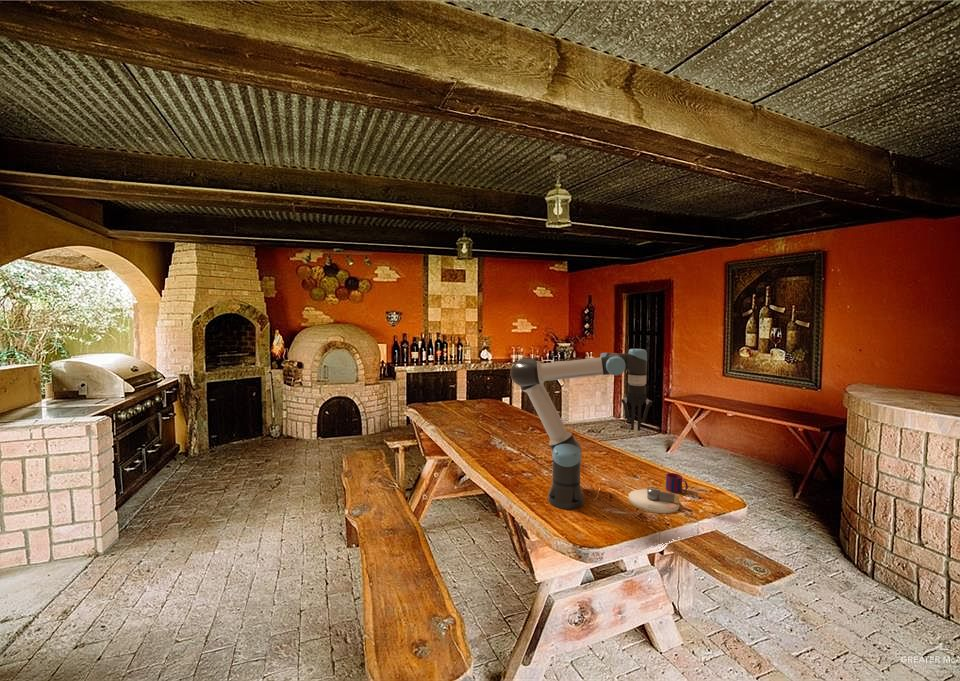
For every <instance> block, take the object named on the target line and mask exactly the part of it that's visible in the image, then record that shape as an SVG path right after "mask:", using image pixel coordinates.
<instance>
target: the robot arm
mask: <svg viewBox="0 0 960 681" xmlns="http://www.w3.org/2000/svg"><path fill="white" fill-rule="evenodd" d="M647 366H648V352H647V350H646V349H644V348H643V349H642V348H630V349H629V350H628V352H627V353H626V352H625V353H617V352H602V353H600V356H599V357H592V358H583V359H574V360H573V359H571V360H564V361H555V362H546V363H544V362H543V363H541V362H539V361H536V360H535V359H534V358H531V357H523V358H520V359H518V360H517V361H516V362H514V363H513V365H512V366H511V367H510V371H509V372H510V373H509V375H510V379H511V380H512V382H513V383H514V384H515V385H517V386H519V388H520V389H521V391H522V392H524V393H526V394H527V395H528V398H529V400H530V402H531V404H532V407H533V408H534V410H535V412H536V413H537V416H538V418H539V419H540V421H541V424H542V425H543V428H544V430H545V432H546V433H547V435H548V437H549V442H548V446H549V447H550V449H551V451H552V455H551V456H552V483H551V486H550V489H549V491H548V494H547V501H548V503H549V502H550V503H551V505H552V506H554V507H555V508H558V509H559V508H560V509H563V510H564V509H565V510H574V509H579V508H581V507H583V506H584V504H585V498H584V497H585V496H584V493H583V490H582V487H581V460H582V447H581V445H580V443H579V442H578V441H577V439H575V437H574V434H573V433H572V432H570V431H569V430H568V429H566V428H567V427H566V426H565V424H564V422H563V420H562V419H561V416H560V414H559V413H558V411H557V409H556V407H555V405H554V403H553V401H552V398H551V397H550V395H549V393H548V391H547V389H546V387H545V385H544V384H545V382H547V381H558V380H567V379H576V378H577V379H578V378H579V379H580V378H588V377H589V378H590V377H597V376H609V375H611V376H619V375H622V374H623V373H624V372H625V371H627V373H628V374H627V383H628V384H627V394H626V397H624V398H621V400H620V401H621V404H622V405H623V409H624V414H625V418H626V421H627V422H630V430H631V431H633V439H638V434H639V433H638V432H640V431H641V424H644V423H645V422H646V419H647V417H648V414H649V410H650V407H651V405H652V404H653V401H652V400H650V399H648V397H647V385H646V384H647V371H648V370H647ZM628 403H629V404H630V405H631V414H630V413H629V408H628ZM644 403H645V404H646V405H645V409H644V412H643V416H642V406H643V405H644ZM636 406H637V422H636V421H635V414H636V413H635V412H636V409H635V407H636ZM630 416H631V417H630ZM567 430H568V431H567ZM550 503H549V504H550Z"/></svg>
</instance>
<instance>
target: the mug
mask: <svg viewBox="0 0 960 681" xmlns="http://www.w3.org/2000/svg"><path fill="white" fill-rule="evenodd" d="M665 478H666V479H665V490H666V491H667V492H668V493H673V494H680V493H682V492H686V491H687V490H688V487H689V485H688V482H687V481H686V480H684V479H683V476H682V474H679V473H675V472H667V473H666V476H665ZM683 483H684V484H685V489H683Z"/></svg>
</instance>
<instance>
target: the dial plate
mask: <svg viewBox="0 0 960 681" xmlns="http://www.w3.org/2000/svg"><path fill="white" fill-rule="evenodd" d="M628 501H629V503H630V504H631V505H632V506H634V507H635V508H637V509H640V510H642V511H645V512H649V513H652V514H673V513H675V512H677V511H678V510H680V503H679V504H677V503H674V502H669V501H664V500H659V501H651V500H649V499H648V498H647V488H646V489H645V488H642V489H641V488H640V489H635V490H632V491H630V492H629V493H628Z"/></svg>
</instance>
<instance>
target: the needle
mask: <svg viewBox="0 0 960 681" xmlns="http://www.w3.org/2000/svg"><path fill="white" fill-rule="evenodd" d="M646 489H647V498H648V499H649V500H651V501H659V500H664V501H669V502H674V503H677V504H679V505H680V493H672V492H668V491H667V492H666V491H661V489H659V488H658V487H655V486H650V487H647V488H646Z"/></svg>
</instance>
